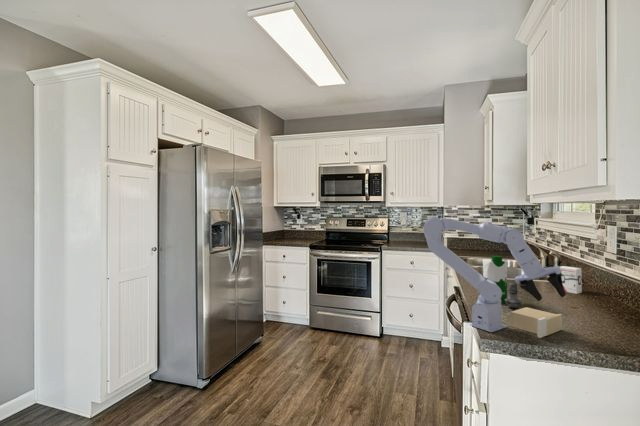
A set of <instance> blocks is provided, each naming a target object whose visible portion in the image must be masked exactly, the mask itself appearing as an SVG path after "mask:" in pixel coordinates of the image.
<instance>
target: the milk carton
mask: <svg viewBox="0 0 640 426" xmlns="http://www.w3.org/2000/svg"><path fill="white" fill-rule="evenodd" d="M508 263H509V262H508V261H507V260H504V259H503V256H502V255H491V258H483V259H482V275H483V276H484V277H485V278H488V279H492V280H493V281H495V283H496V284H497V286H499V287H500V289H501V291H502V297H501V304H506V302H505V299H507V298H508V265H509V264H508Z"/></svg>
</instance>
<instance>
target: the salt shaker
mask: <svg viewBox="0 0 640 426" xmlns="http://www.w3.org/2000/svg"><path fill="white" fill-rule="evenodd" d="M507 293H508V295H507V299H505V302H506V303H505V304H506V305H507V306H506V307H505V310H506V311H510V312H512V311H515V310H518V309H520V308H519V307H520V306H521V303H522V300H521V299H519V298H518V293H519V291H518V284H517V283H516V281H515V280H514V279H512V280H511V282H509V283H508V289H507Z"/></svg>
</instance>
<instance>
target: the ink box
mask: <svg viewBox="0 0 640 426" xmlns="http://www.w3.org/2000/svg"><path fill="white" fill-rule="evenodd" d="M559 267H560V269H561V270H562V272H561V275H562V284H563V287H564V290H565V293H570V294H581V293H582V289H583V288H582V284H583V283H582V278H583V277H582V275H583V274H582V268H581V267H573V266H566V265H562V266H559Z"/></svg>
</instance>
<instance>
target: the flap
mask: <svg viewBox="0 0 640 426" xmlns="http://www.w3.org/2000/svg"><path fill="white" fill-rule="evenodd" d="M556 314H557V313H556ZM562 330H563V314H562V313H558V314H557V315H555V316H552V317H549V318H545V317H543V318H540V319H537V334H536V335H537V336H536V337H537V338H539V339H541V338H543V337H545V336H546V337H547V336H551V335H553V334H554V333H557V332H559V331H562Z"/></svg>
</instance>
